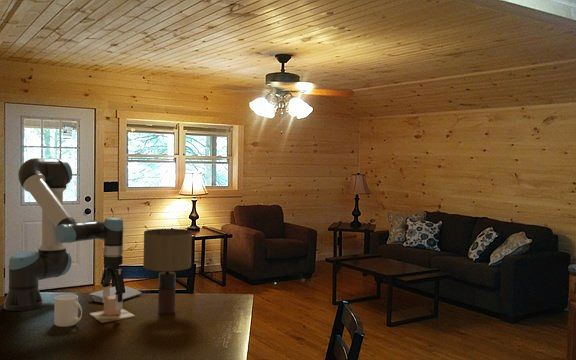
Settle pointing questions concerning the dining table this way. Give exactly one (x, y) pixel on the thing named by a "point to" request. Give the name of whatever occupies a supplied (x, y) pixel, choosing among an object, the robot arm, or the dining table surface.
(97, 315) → the board
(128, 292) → the book
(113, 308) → the pink rectangular block
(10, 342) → the dining table surface
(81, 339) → the dining table surface
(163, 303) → the lamp
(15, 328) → the dining table surface
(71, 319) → the mug
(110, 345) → the dining table surface
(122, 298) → the robot arm
